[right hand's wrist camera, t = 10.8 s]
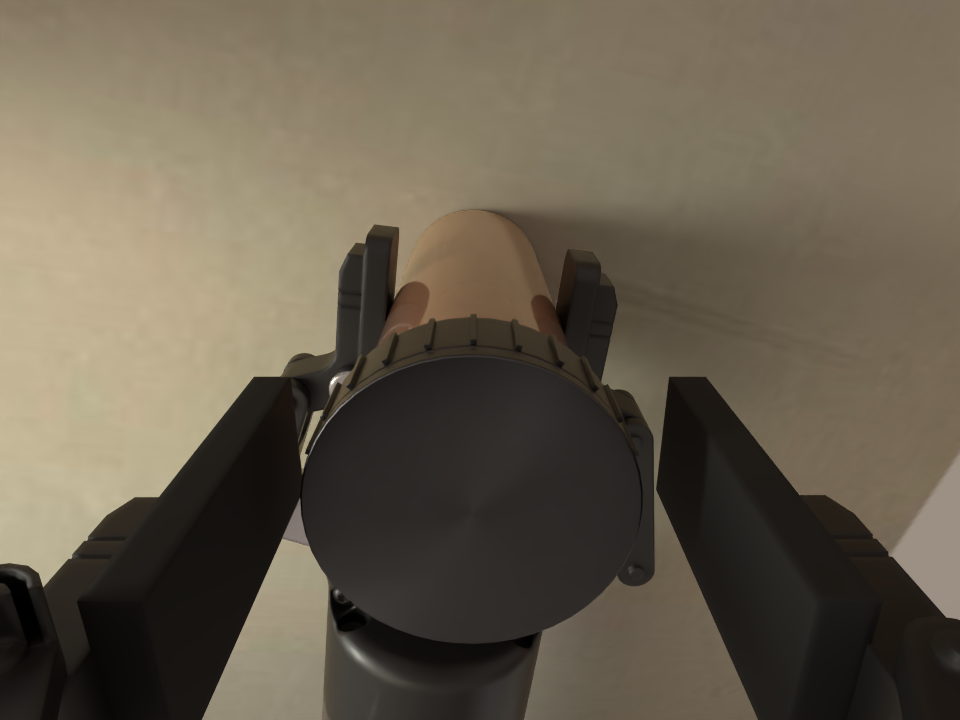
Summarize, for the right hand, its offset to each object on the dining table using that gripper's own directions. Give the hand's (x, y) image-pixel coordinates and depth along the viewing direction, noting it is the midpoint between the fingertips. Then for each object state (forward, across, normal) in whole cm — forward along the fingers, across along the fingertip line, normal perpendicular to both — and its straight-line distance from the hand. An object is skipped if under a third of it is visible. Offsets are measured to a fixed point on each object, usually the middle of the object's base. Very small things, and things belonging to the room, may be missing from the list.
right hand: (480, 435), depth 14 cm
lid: (-3, 0, 0) cm, 3 cm away
